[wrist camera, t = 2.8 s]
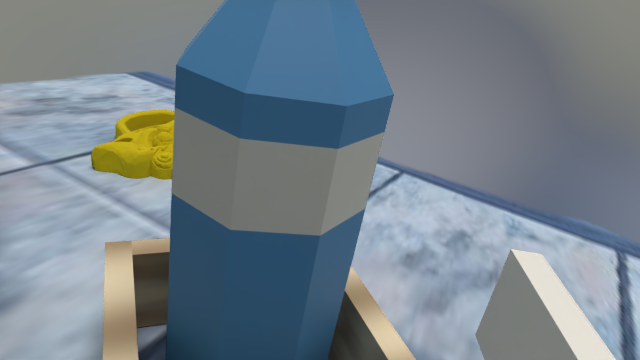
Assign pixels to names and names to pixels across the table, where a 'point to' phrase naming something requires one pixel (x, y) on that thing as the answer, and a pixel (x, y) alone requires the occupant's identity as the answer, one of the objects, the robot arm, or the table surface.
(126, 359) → the holder collar
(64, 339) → the table surface
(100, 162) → the door knocker
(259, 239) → the water bottle
